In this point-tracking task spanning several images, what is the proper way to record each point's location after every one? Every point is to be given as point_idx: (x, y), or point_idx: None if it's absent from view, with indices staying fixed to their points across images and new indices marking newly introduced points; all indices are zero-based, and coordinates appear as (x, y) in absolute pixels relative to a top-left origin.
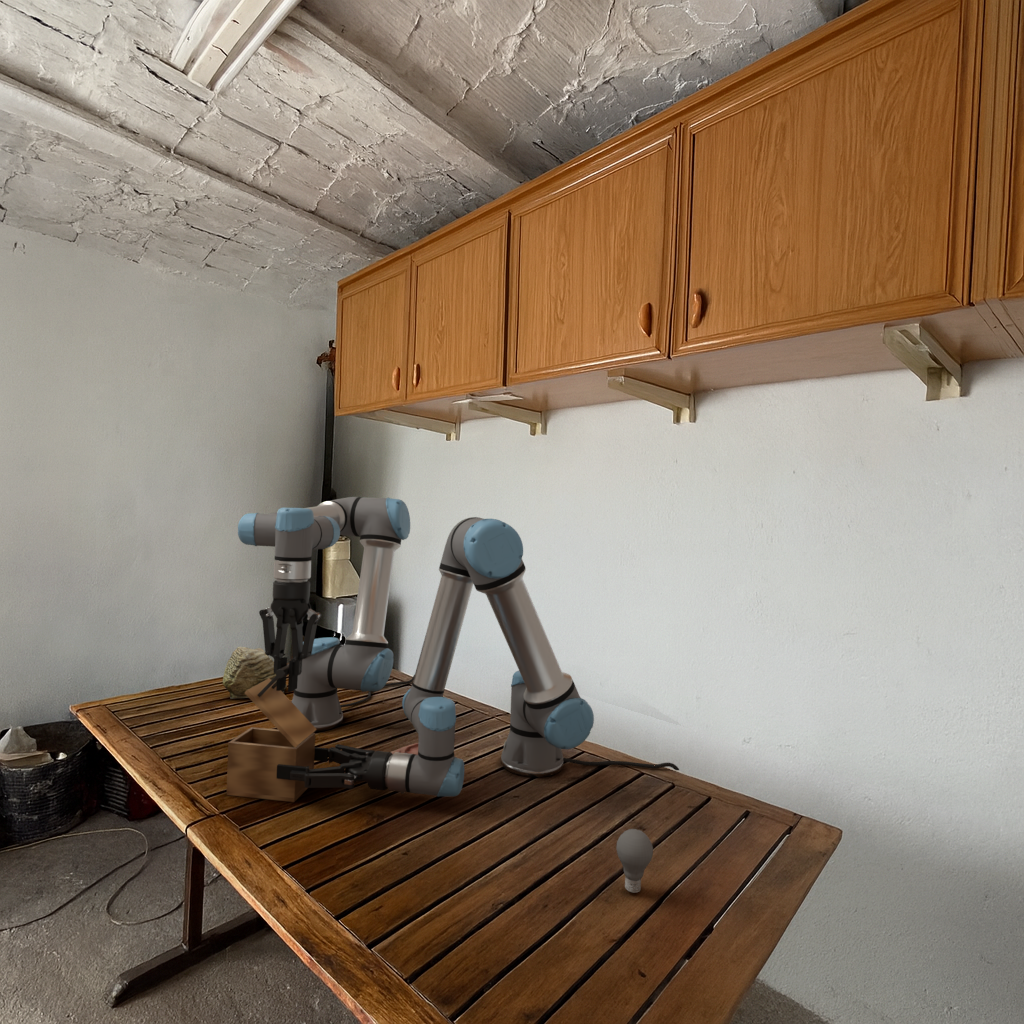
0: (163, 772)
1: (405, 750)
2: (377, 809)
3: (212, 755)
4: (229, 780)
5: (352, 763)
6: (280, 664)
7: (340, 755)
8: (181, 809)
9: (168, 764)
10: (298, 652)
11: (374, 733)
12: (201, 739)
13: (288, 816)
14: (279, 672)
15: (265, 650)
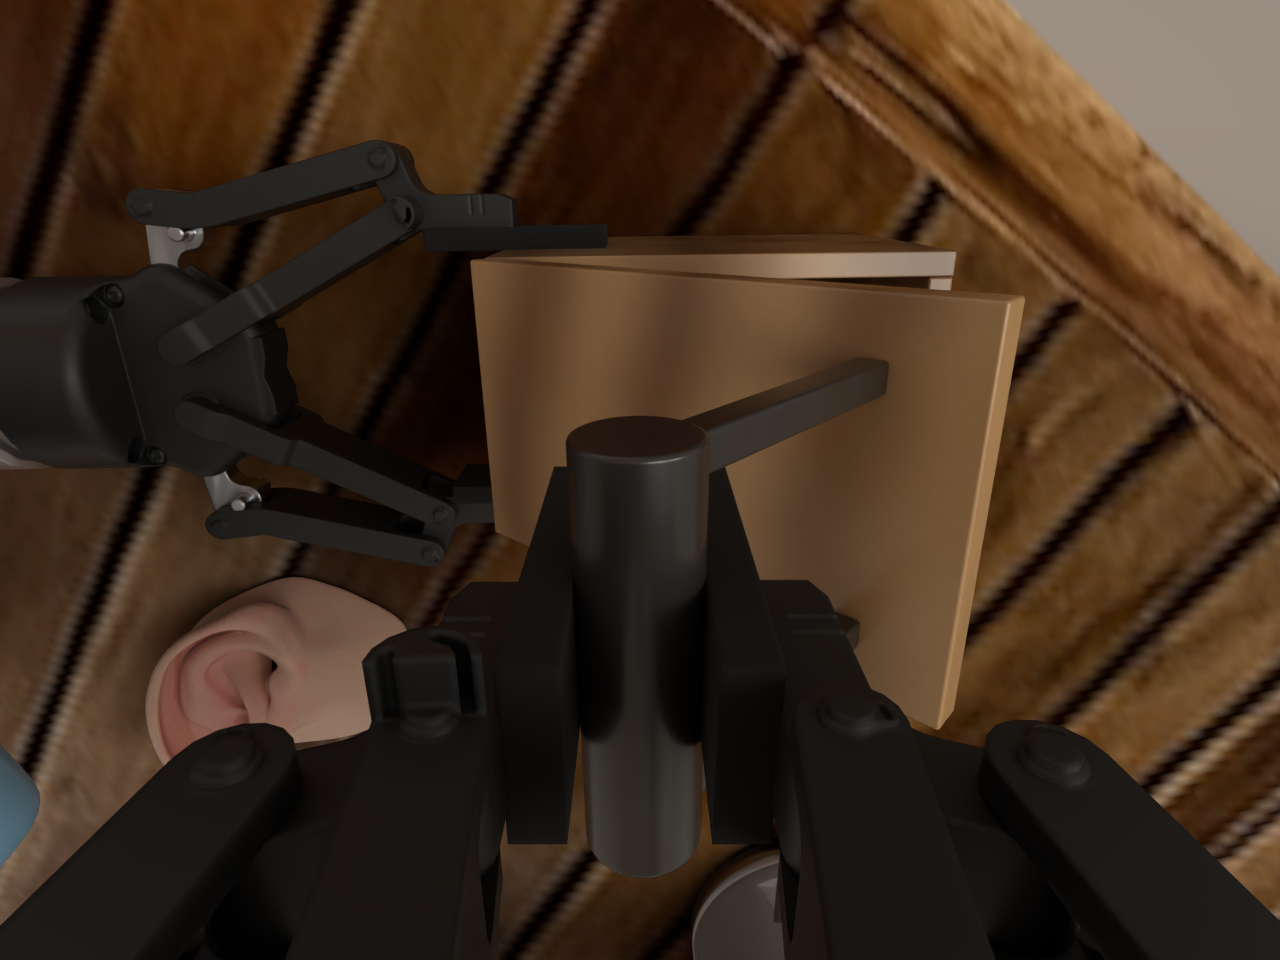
0: (1232, 374)
1: (248, 713)
2: (149, 258)
3: (1087, 570)
4: (865, 237)
5: (206, 334)
6: (718, 621)
7: (368, 463)
8: (993, 47)
9: (1242, 451)
10: (344, 829)
11: (524, 881)
12: (1197, 693)
13: (485, 100)
14: (646, 440)
15: (1141, 795)
